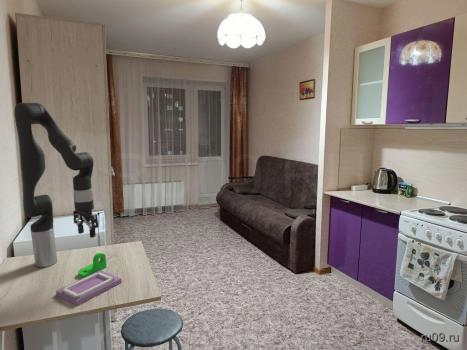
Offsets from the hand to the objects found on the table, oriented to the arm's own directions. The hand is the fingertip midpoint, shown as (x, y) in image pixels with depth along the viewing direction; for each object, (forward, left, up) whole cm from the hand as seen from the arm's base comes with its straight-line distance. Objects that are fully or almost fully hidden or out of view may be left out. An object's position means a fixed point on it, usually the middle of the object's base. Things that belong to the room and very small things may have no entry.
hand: (87, 235), depth 142 cm
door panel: (+12, -8, -18) cm, 23 cm away
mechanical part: (-1, +1, -19) cm, 19 cm away
